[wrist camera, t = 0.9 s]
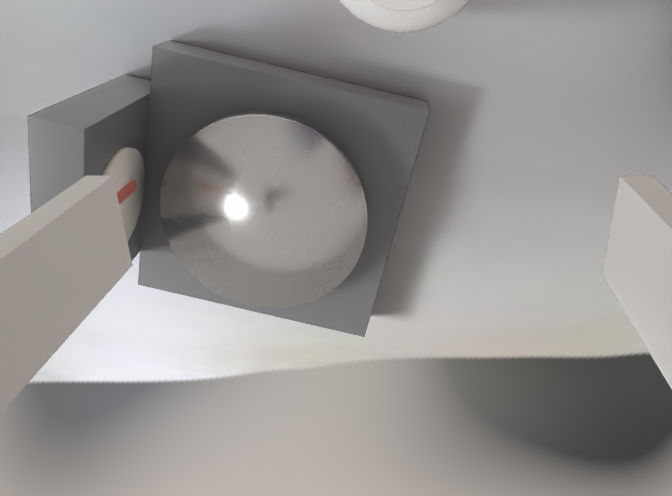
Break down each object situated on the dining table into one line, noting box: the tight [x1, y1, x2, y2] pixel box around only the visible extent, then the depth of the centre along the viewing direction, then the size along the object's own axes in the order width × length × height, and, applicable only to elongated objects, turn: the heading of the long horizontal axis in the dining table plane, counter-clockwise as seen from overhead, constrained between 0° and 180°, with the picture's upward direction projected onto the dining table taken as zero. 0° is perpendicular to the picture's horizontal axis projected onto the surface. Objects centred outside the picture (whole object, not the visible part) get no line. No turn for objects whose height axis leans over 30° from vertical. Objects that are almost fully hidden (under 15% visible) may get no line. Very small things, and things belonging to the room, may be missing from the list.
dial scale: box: [28, 40, 429, 337], centre depth 38 cm, size 21×18×12 cm
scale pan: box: [160, 111, 368, 309], centre depth 40 cm, size 14×14×2 cm
